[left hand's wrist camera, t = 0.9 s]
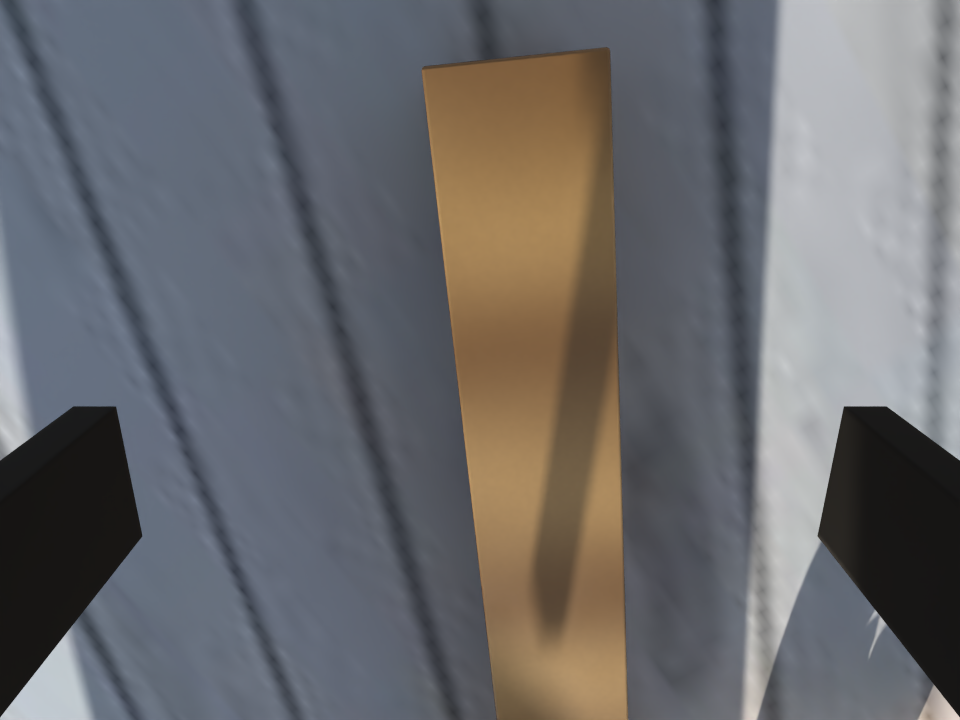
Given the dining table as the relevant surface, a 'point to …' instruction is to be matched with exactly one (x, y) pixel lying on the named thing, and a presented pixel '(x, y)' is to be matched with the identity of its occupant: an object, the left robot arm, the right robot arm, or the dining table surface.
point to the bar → (537, 368)
